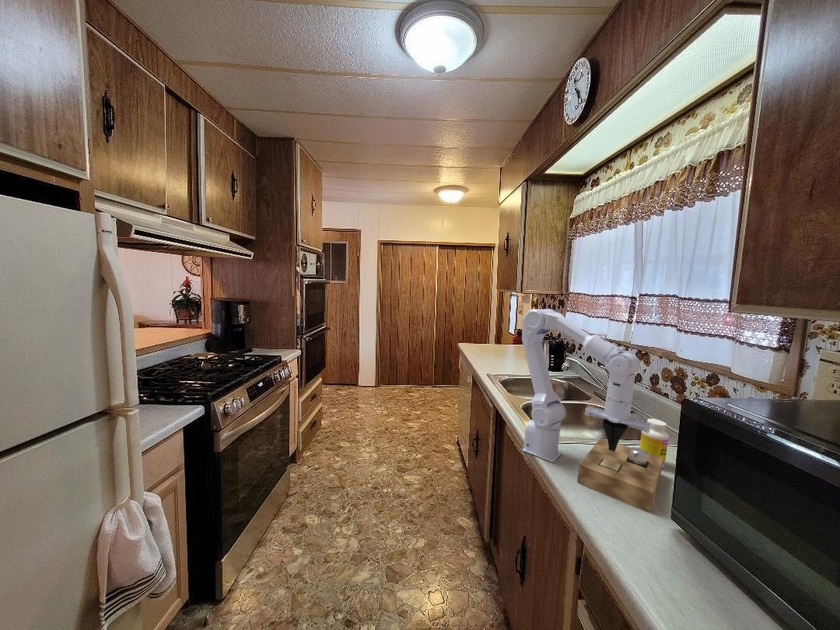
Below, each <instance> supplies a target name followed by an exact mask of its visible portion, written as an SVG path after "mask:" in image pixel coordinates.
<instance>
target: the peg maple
mask: <svg viewBox="0 0 840 630" xmlns="http://www.w3.org/2000/svg"><path fill="white" fill-rule="evenodd" d="M600 466H602V467H605V468H608V469H610V470H613V471H616V472H619V471H620V466H621V465H620V464H617V463H614V462H611V461H608V460H606V459H603V461H602V462H601V464H600Z"/></svg>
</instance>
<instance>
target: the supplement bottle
mask: <svg viewBox="0 0 840 630" xmlns="http://www.w3.org/2000/svg"><path fill="white" fill-rule="evenodd" d="M646 422H647V423H650V424H651V425H650V431H649V433H646V432H644V431H642V430H641V435H640V441H639V447H638V448H640V449H643V450H645V451H647V452H648V453H649V454H652V455H655V456H658V457H661V458H663V463H662V468H664V467H665V465H666V458H667V452H668V446H669V440H670V439H669V438H670V436H669V434H668V432H666V431H665V430H666V429H667V423H666V422H664V421H662V420H660V419H656V418H647V421H646Z"/></svg>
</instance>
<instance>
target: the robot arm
mask: <svg viewBox="0 0 840 630" xmlns="http://www.w3.org/2000/svg"><path fill="white" fill-rule="evenodd" d="M522 325H523V327H522V334H521V341H522V342H521V343H522V346H523V351H524V353H525V358H526V362H527V366H528V371H529V375H530V379H531V384H532V387H533V391H534V396H533V398H532V400H531V419H530V420H528V422H527V423H526V427H525V430H524V431H525V432H524V438H523V439H524V440H523V441H524V442H523V448H522V451H523V452H525V453H527V454H529V455H532V456H535V457H538V458H540V459H543V460H546V461H548V462H550V463H555V462H556V460H558V458H559V457H560V456H561V455H562V454H563V451H561V450H559V445H560V444H559V441H560V434H561V425H562V421H564V420H565V418H566V415H567V410H566V407H565V406H564V405H563V404H562V402H561V399H560V396H559V395H558V394H557V393H555V392H554V389H553V384H552V380H551V376H550V372H549V367H548V364H547V360H546V359H547V358H546V357H545V356H546V355H545V352H544V349H543V343H542V340H543V339H544V337H545V336H546V335H547V334H548V333H549V332H550V331H552V330H554V331H558V332H560V333H561V334H562V333H563V334H564V335H565V336H567V337H569V338H570V339H572V340H574V341H576V342H577V343H579V344H580V345H582V348H583V351H584V353H586V354H587V355H588V356H591V358H593V359H594V360H596V361H597V362H599V363H600V364H602V365H603V366H606V370H607V371H608V374H609V375H608V380H607V390H606V397H605V403H604V404H605V405H604V409H601V408H595V407H591V406H586V407H585V412H584V415H585V416H587V417H590V416H591V417H593V418H597V419H602V420H603V422H602V428H603V430H604V432H605V435H606V440H608V446H609V450H611V451H615V450H616V447H617V444H619V442H620V440H621V437H622V436H623V434H624V433H625V432H626V431H627V430H628V428H632V429H636V430H640V431H641V432H642V431H644V432H646V433H649V431H650V425H651V424H650V423H647V421H643V420H641V419H638V418H635V417H633V416H631V411H632V403H633V397H634V391H635V390H634V389H635V378H636V374H635V373H636V372H638V371H639V369H640V367H641V362H640V361H641V360H640V359H639V357H638V356H637V355H635V353H634V352H632V351H625V350H624V348H623V347H621V346H619V347H618V346H617V345H615V344H613V343H611V342H610V341H609V340H607V336H605V335H599V334H593V335H591V334H589V333H588V332H586V331H585V330H584V329H582V328H581V327H579V326H578V325H576V324H575V323H574V322H572V321H570V320H569V319H568V318H566V317H565V316H564V315H563V314H562V313H560V312H557V311H556V310H554V309H552V308H544V309H541V308H540V309H536V308H532V309H530V310H527V312H526V313H525V315H524V316H523V318H522Z"/></svg>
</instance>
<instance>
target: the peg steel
mask: <svg viewBox="0 0 840 630" xmlns="http://www.w3.org/2000/svg"><path fill="white" fill-rule="evenodd" d="M647 457H648V452H647V451H645V450H643V449H640V448H639V447H635V446H632V447H630V455H629V463H632V464H635V465H638V466H641V467H644V468H646V464H647Z"/></svg>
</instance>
